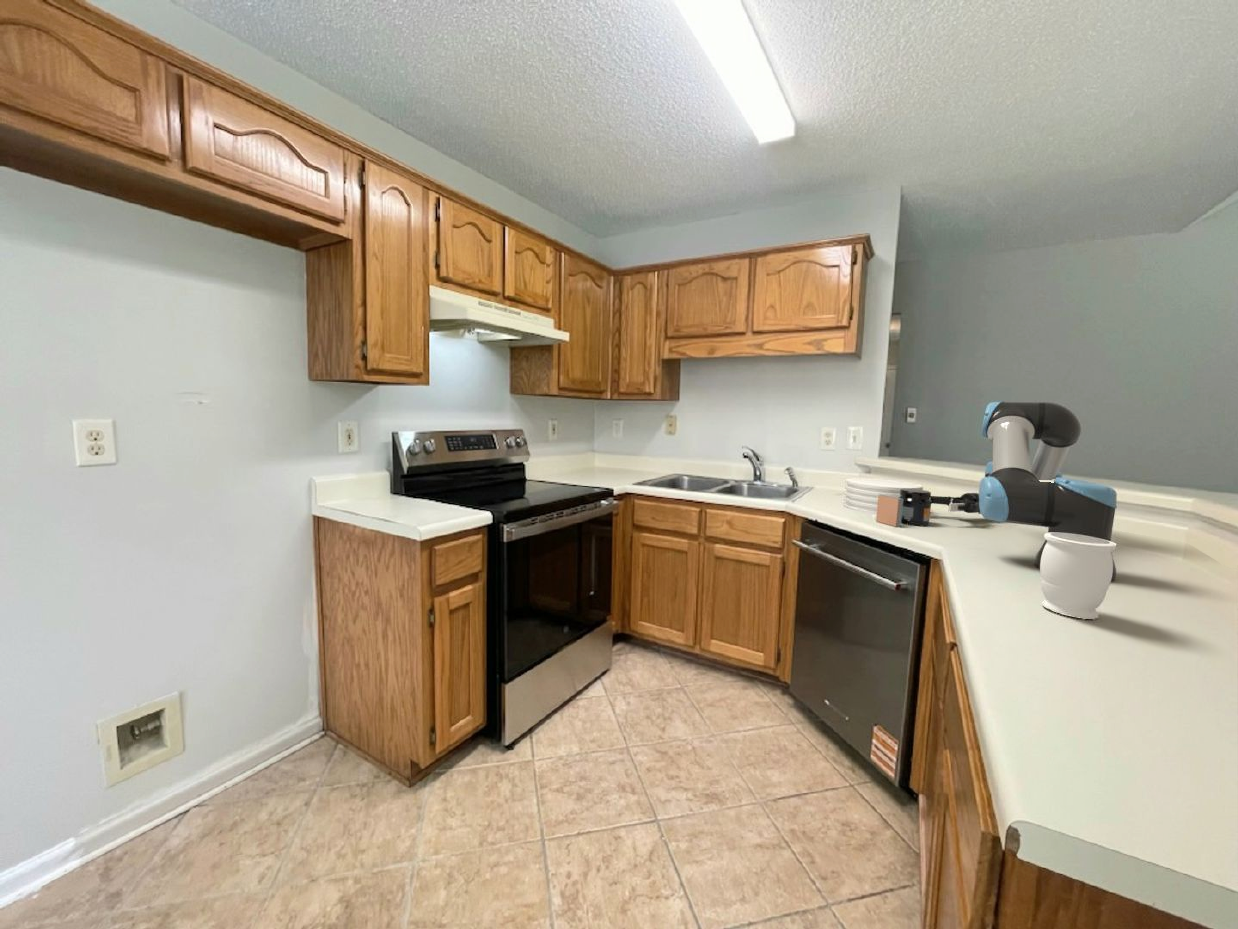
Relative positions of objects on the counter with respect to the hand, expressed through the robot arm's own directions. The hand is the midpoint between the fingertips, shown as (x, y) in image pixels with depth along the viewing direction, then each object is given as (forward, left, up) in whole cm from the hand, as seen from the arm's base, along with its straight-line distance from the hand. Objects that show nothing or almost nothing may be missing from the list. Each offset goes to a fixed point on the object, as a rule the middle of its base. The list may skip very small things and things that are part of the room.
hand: (932, 503), depth 179 cm
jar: (-81, -31, -7) cm, 87 cm away
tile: (-16, +11, -7) cm, 21 cm away
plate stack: (+15, +19, -7) cm, 25 cm away
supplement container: (-7, +5, -7) cm, 11 cm away
